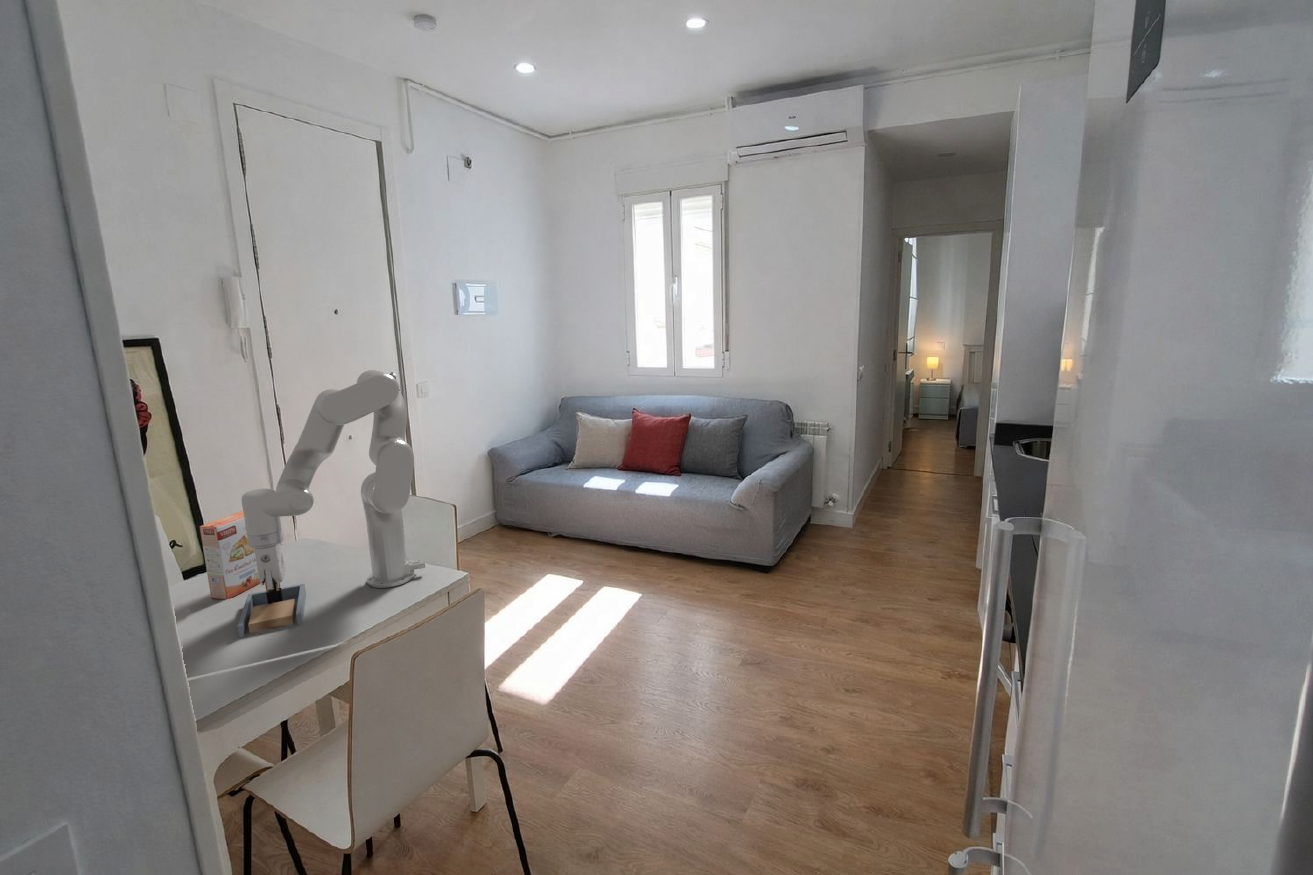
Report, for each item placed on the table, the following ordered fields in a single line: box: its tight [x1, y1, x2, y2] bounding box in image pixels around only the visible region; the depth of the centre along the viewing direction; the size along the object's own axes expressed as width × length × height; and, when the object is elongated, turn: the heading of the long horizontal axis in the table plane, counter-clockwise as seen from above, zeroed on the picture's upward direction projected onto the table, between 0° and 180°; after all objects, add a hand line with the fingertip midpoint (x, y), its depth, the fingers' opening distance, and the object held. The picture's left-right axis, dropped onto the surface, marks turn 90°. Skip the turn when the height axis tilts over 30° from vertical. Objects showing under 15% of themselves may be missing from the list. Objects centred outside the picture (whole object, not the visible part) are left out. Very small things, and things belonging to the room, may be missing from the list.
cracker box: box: [199, 510, 260, 600], centre depth 169 cm, size 14×6×21 cm, turn 168°
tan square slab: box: [248, 599, 296, 634], centre depth 152 cm, size 9×10×2 cm
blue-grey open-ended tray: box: [236, 583, 307, 639], centre depth 155 cm, size 13×19×4 cm
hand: (275, 603), depth 159 cm, fingers closed
